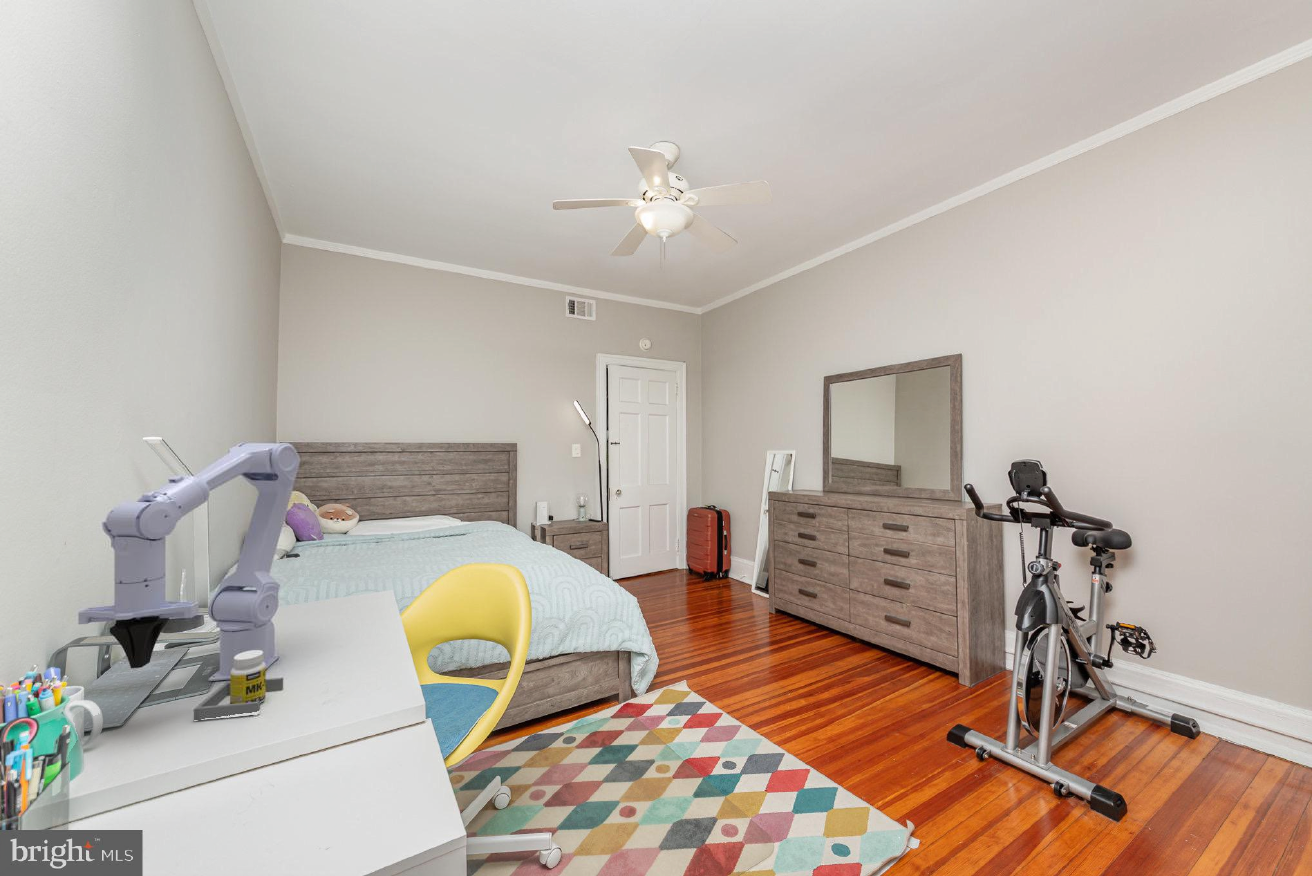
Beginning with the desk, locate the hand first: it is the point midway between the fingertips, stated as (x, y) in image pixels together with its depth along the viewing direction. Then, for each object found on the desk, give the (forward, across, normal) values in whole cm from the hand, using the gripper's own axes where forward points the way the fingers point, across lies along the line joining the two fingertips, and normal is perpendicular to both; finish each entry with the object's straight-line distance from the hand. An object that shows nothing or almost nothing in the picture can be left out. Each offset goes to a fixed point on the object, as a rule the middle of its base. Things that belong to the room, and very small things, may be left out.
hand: (140, 665), depth 83 cm
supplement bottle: (+10, +13, +4) cm, 17 cm away
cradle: (+9, +12, +4) cm, 16 cm away
